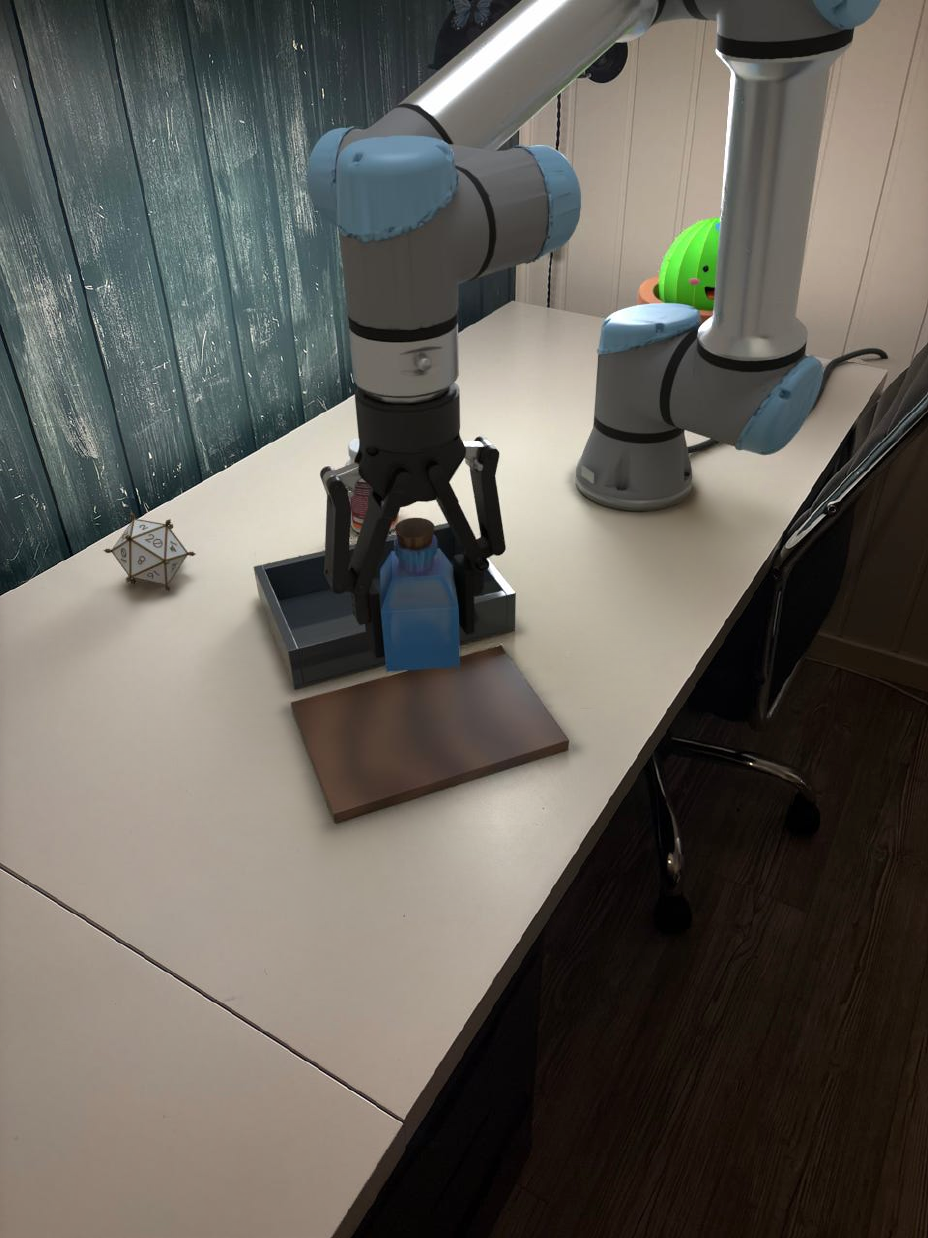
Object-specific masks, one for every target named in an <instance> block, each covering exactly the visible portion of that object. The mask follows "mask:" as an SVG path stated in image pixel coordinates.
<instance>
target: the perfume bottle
mask: <svg viewBox="0 0 928 1238" xmlns="http://www.w3.org/2000/svg"><path fill="white" fill-rule="evenodd" d="M435 526H436V525H435V523H434V522H433V521H431V520H429V519H426V518H424V517H408V518H405V519H402V520H399V522H398V523H397V525H396V526H395V528H394V531H395V535H397V537H396V538H395V540H394V551H391V553H390V555H389V556H388V558H387V559H386V561H385V563H384V564H383V566H382V568H381V569H380V583H381V615H382V627H383V638H384V650H385V661H386V665H385V671H386V673H390V672H404V671H408V670H421V669H436V668H450V667H460V656H461V655H460V653H461V652H460V645H459V610H458V601H457V594H456V587H455V580H454V572H453V565H452V564H451V563H450V561H449V560H448V559H447V557H446V556H445V555H444V553H443V552H442V551H441V550H440V548H437V538H436V536H435V535H434V534H433V533H434V528H435Z"/></svg>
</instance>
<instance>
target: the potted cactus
mask: <svg viewBox="0 0 928 1238" xmlns="http://www.w3.org/2000/svg"><path fill="white" fill-rule="evenodd" d="M712 216H714V214H712ZM695 221H696V222H695ZM695 221H692V223H693V224H692V225H691V226H688V227H687V228H686V229H684V230H683V231H682V229H681V228H680V229H681V230H680V229H678V230H679V231H680V232H681V234H679V235H678V237H676V236H673V239H674V241H673V242H672V244H671V245H670V246H669V245H666V247H667V248H668V250H667V252H666V253H665V256H664V255H662V254H661V258H662V263H661V267H660V271H659V274H658V271H655V273H657V274H658V275H656V276H653V277H650V278H648V279H646V280H645V281H643V282H642V283H641V284H640V286H639V287H638V288H639V289H638V291H637V293H638V294H637V304H636V306H637V305H644V304H653V303H676V304H684V305H689V306H692V307H694V308H695V309H697V310H698V311H699V312H700V318H701V319H702V321H701V324H700V326H701V325H702V324H703V323H704V322H705V321H707V320H708V319H709V318H710V317H712V316H713V308H714V295H715V282H716V269H717V256H718V243H719V230H720V217H718V215H715V217H712V218H707V219H701V220H695Z"/></svg>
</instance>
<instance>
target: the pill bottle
mask: <svg viewBox="0 0 928 1238" xmlns="http://www.w3.org/2000/svg"><path fill="white" fill-rule="evenodd" d="M347 448H348V449H347V451H348V452H347V453H348V456H349V458H348V459H347V460H346V462H345V464H344V467H345V466H347V465H350V464H352V463H354V460H355V457H356V454H357V452H358V449H359V437H356V438H354V439H352V440H350V442H349V443H348V446H347ZM370 490H371V487H370V486H369V485H368V484H367V483H366V482H365V481H364V480H363V479H360V480H359V481H358V482H357V483H356V491H355V493H354V497H353V498H349V500H350V504H351V528H352V529H353V530H354V531H355V532H357V533H358V534H359V533H360V530H361V527H362V524H363V521H364V517H365V514H366V511H367V508H368V496H369V493H370ZM399 522H400V512H399V513H398V516H397V519H396V520H395V521H393V522H392V524H391V527H390V530H389V532H391V531H393V530H395V526H396V525H397V523H399Z"/></svg>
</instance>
